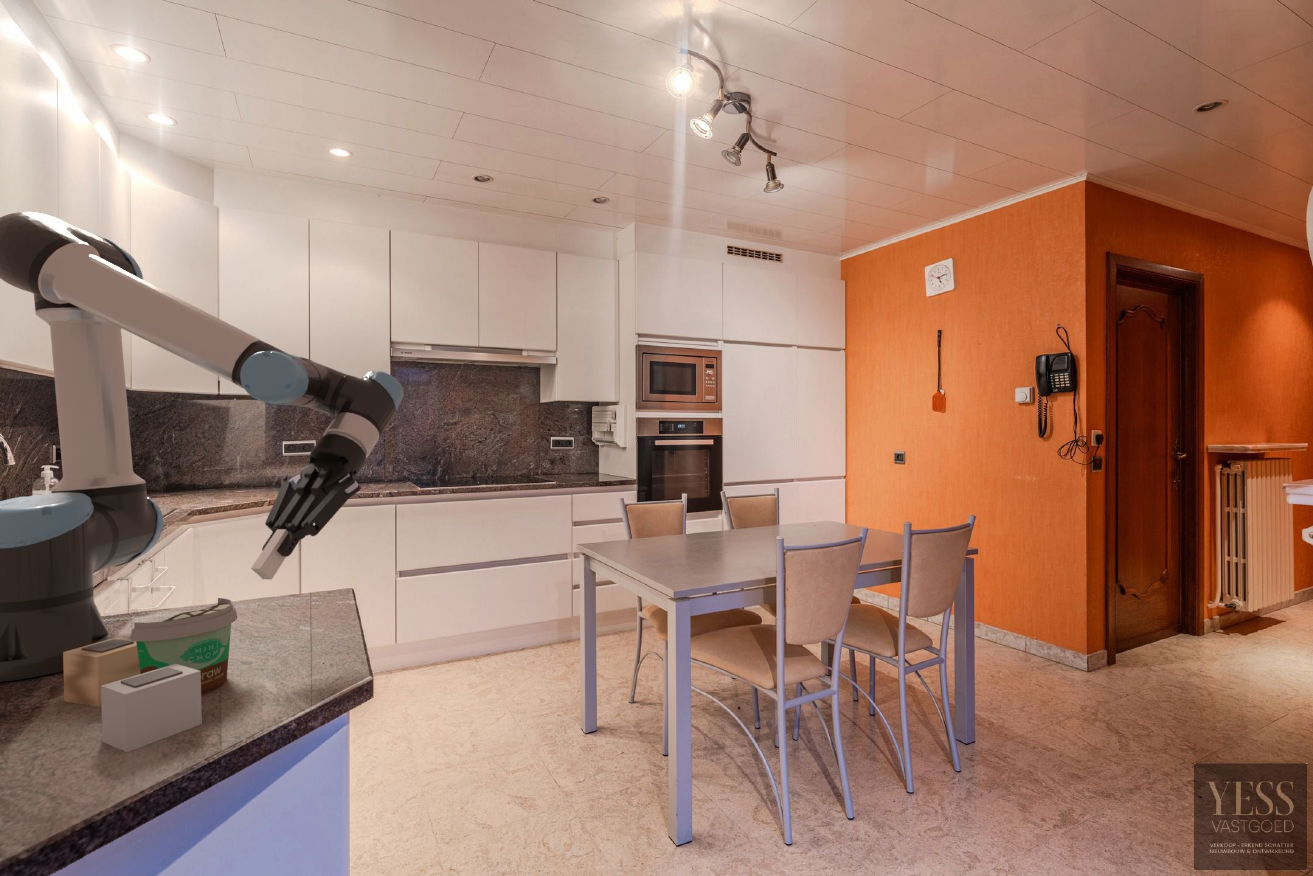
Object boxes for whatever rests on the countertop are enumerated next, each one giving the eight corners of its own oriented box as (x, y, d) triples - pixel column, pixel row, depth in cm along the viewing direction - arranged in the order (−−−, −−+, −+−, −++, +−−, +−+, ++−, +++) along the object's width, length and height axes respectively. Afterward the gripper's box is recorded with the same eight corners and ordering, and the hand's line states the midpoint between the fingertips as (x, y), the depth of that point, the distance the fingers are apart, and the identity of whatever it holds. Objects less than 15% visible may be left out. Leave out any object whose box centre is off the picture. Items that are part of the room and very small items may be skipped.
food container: (174, 713, 74) (172, 626, 74) (131, 708, 76) (129, 623, 75) (261, 673, 86) (260, 599, 86) (223, 670, 88) (221, 596, 87)
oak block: (64, 701, 78) (63, 650, 78) (118, 682, 84) (117, 635, 84) (98, 707, 76) (97, 655, 76) (151, 687, 82) (150, 639, 82)
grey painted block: (102, 742, 67) (100, 683, 67) (177, 715, 74) (176, 661, 74) (126, 753, 65) (125, 692, 65) (201, 724, 71) (200, 669, 71)
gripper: (390, 463, 105) (316, 590, 89) (322, 462, 108) (239, 586, 92) (368, 431, 100) (285, 560, 84) (297, 431, 103) (204, 556, 87)
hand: (261, 573), depth 88 cm, fingers closed
